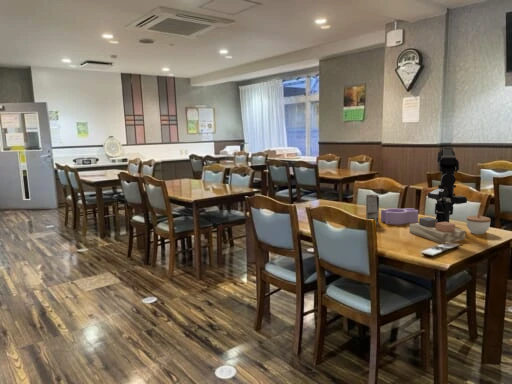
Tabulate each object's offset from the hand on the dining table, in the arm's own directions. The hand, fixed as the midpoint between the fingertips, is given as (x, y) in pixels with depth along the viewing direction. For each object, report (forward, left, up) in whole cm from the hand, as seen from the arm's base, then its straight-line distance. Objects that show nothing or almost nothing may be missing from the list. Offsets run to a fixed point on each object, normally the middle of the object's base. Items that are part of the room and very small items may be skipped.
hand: (445, 214), depth 187 cm
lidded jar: (-23, -1, -12) cm, 26 cm away
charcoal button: (0, -11, -8) cm, 14 cm away
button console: (0, -5, -12) cm, 13 cm away
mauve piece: (-4, -37, -12) cm, 40 cm away
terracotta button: (0, 0, -8) cm, 8 cm away
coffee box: (+12, -41, -12) cm, 45 cm away
